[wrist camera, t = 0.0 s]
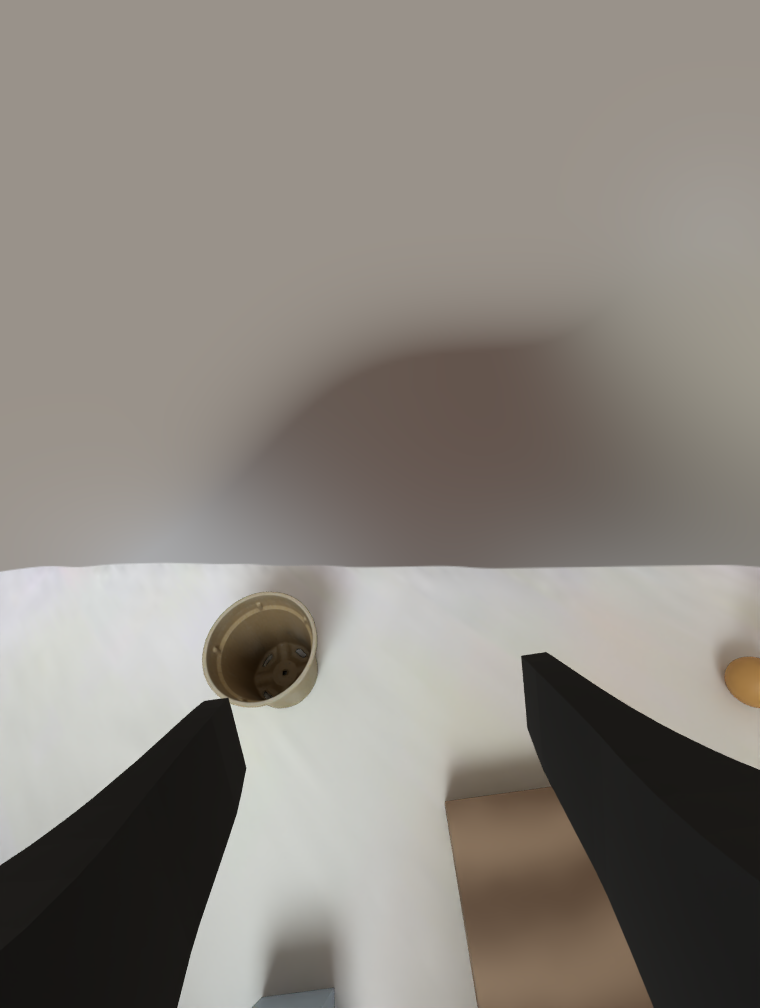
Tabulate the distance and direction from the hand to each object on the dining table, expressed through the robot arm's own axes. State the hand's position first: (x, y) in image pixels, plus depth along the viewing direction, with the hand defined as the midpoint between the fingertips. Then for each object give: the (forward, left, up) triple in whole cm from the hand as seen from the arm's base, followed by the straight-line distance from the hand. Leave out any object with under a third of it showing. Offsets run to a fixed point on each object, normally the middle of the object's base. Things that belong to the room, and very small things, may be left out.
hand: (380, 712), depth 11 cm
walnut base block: (-7, -8, -33) cm, 34 cm away
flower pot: (+11, +11, -32) cm, 36 cm away
